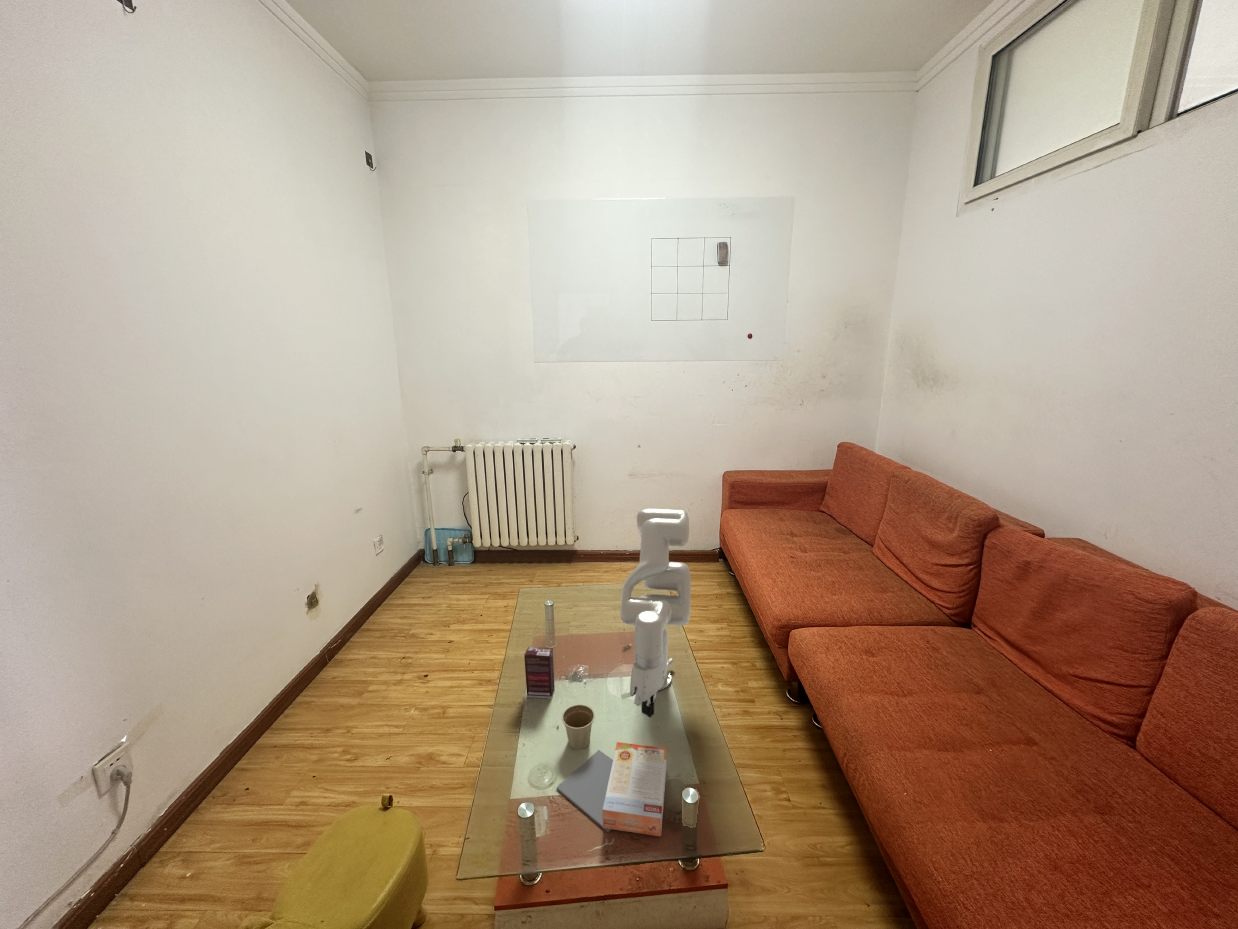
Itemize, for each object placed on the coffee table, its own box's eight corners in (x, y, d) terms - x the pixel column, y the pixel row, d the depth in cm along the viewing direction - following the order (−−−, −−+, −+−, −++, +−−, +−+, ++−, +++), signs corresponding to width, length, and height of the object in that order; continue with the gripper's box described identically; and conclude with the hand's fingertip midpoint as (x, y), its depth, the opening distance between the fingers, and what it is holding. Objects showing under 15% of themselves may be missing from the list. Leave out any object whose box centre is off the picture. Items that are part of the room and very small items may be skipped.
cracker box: (616, 759, 136) (601, 829, 115) (616, 740, 134) (601, 808, 114) (667, 766, 133) (660, 839, 113) (667, 747, 132) (661, 818, 112)
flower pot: (565, 757, 137) (564, 731, 135) (560, 732, 146) (559, 707, 143) (598, 750, 139) (597, 724, 137) (591, 726, 148) (590, 701, 146)
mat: (598, 751, 139) (598, 749, 138) (649, 787, 127) (649, 785, 127) (556, 789, 127) (556, 787, 127) (608, 832, 115) (608, 830, 115)
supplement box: (555, 689, 164) (553, 647, 160) (551, 699, 159) (550, 656, 156) (529, 687, 165) (527, 646, 161) (526, 697, 160) (523, 655, 156)
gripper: (654, 638, 140) (653, 693, 145) (620, 664, 129) (620, 722, 134) (675, 649, 135) (674, 705, 140) (642, 676, 124) (641, 736, 129)
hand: (647, 713), depth 137 cm, fingers closed
